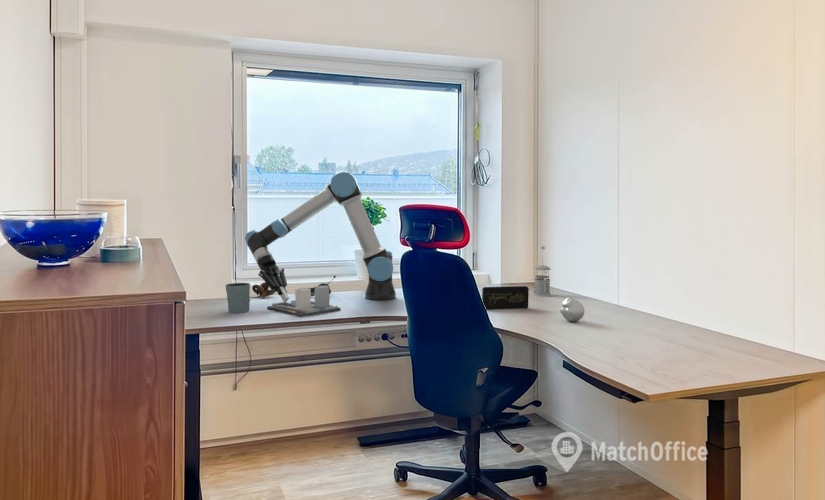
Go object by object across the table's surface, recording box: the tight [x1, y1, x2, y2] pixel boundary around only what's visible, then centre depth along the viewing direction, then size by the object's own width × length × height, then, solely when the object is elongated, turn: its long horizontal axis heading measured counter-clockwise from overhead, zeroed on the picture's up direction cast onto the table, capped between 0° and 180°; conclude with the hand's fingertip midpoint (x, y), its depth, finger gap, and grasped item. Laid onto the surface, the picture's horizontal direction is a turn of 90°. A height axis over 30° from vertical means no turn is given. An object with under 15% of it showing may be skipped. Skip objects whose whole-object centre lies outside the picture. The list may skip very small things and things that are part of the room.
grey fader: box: [314, 285, 330, 308], centre depth 262 cm, size 4×5×9 cm
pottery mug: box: [251, 281, 277, 299], centre depth 297 cm, size 12×10×8 cm
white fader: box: [294, 287, 312, 311], centre depth 254 cm, size 4×5×9 cm
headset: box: [308, 275, 336, 297], centre depth 302 cm, size 14×10×20 cm
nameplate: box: [481, 285, 530, 311], centre depth 266 cm, size 21×2×10 cm, turn 100°
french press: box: [532, 245, 552, 298], centre depth 305 cm, size 10×12×25 cm
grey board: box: [266, 299, 341, 318], centre depth 262 cm, size 25×21×2 cm
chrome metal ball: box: [560, 296, 585, 323], centre depth 238 cm, size 9×9×10 cm
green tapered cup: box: [225, 282, 251, 314], centre depth 257 cm, size 10×10×12 cm
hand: (286, 299), depth 263 cm, fingers closed
